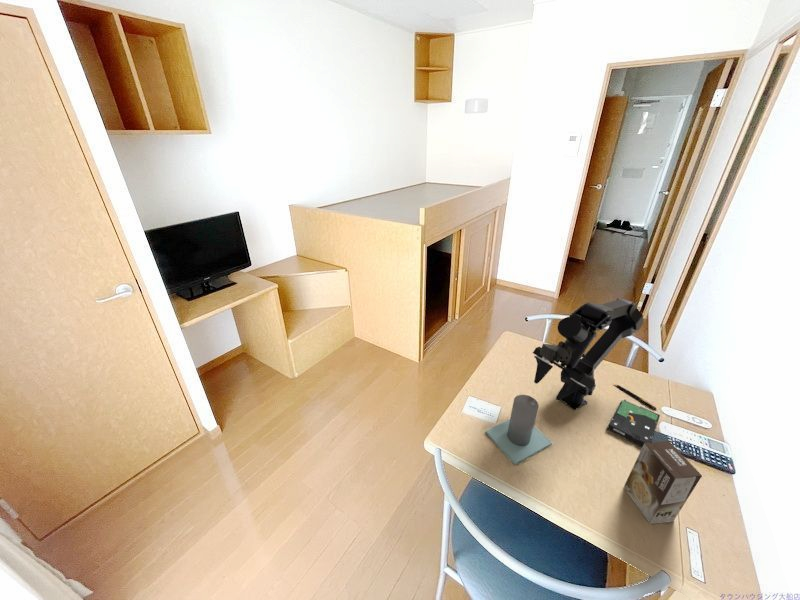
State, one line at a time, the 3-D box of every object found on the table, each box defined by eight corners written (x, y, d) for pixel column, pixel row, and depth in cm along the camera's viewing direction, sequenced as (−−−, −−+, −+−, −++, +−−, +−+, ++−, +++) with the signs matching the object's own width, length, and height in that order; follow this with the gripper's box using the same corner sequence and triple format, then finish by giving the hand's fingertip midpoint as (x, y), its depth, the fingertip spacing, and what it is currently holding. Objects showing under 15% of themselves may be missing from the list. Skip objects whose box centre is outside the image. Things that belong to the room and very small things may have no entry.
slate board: (520, 415, 103) (520, 413, 102) (551, 444, 93) (552, 442, 93) (485, 432, 97) (485, 430, 97) (514, 465, 88) (515, 463, 87)
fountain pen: (611, 384, 115) (612, 381, 114) (613, 383, 116) (614, 380, 115) (655, 411, 104) (657, 408, 103) (657, 410, 104) (659, 407, 104)
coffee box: (675, 521, 75) (705, 477, 67) (649, 524, 74) (676, 480, 67) (645, 483, 83) (669, 439, 75) (621, 485, 82) (643, 442, 75)
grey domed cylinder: (525, 427, 98) (533, 394, 92) (533, 445, 92) (542, 411, 86) (504, 427, 98) (510, 394, 92) (511, 446, 92) (518, 412, 86)
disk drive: (647, 451, 92) (657, 420, 101) (650, 445, 90) (660, 414, 100) (606, 430, 98) (619, 403, 107) (608, 424, 97) (622, 397, 106)
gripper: (534, 322, 98) (507, 366, 100) (583, 347, 81) (549, 399, 82) (559, 337, 102) (532, 379, 104) (610, 363, 85) (577, 413, 86)
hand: (545, 391), depth 94 cm, fingers open, 9 cm apart
